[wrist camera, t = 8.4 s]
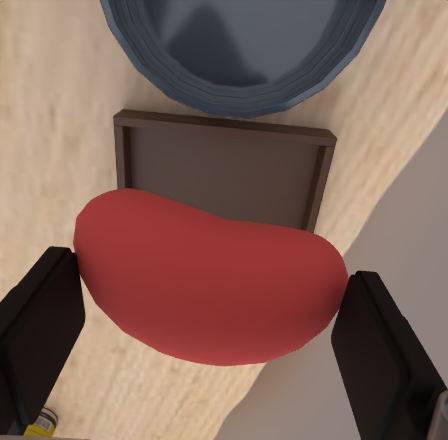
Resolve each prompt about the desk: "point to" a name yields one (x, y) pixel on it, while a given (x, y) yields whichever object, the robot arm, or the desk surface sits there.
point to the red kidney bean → (206, 279)
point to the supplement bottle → (43, 425)
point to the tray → (226, 165)
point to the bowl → (241, 48)
